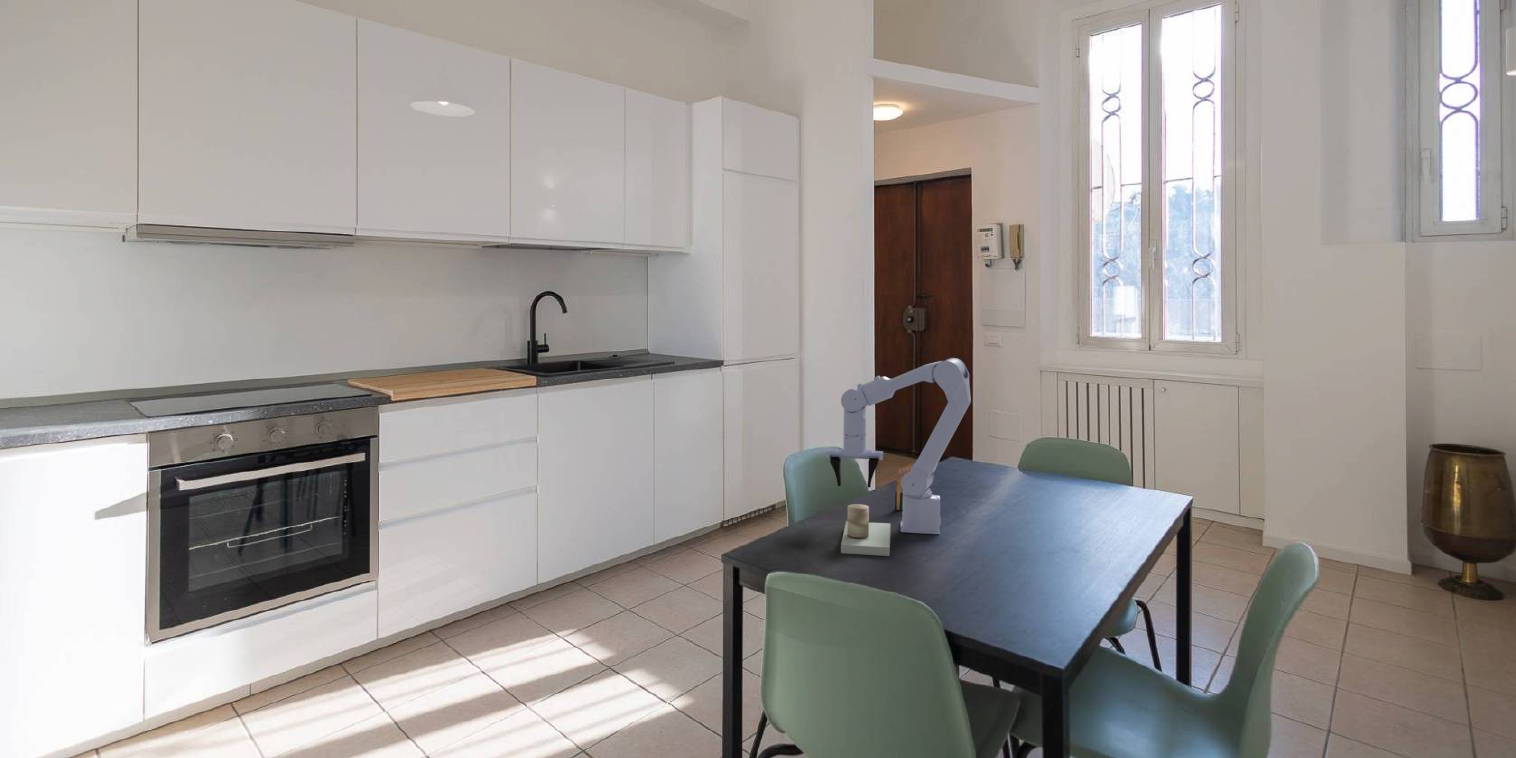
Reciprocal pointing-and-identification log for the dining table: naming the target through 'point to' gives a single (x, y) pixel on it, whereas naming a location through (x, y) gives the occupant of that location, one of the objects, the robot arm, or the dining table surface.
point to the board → (869, 541)
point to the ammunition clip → (899, 489)
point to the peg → (858, 521)
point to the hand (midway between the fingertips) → (854, 485)
